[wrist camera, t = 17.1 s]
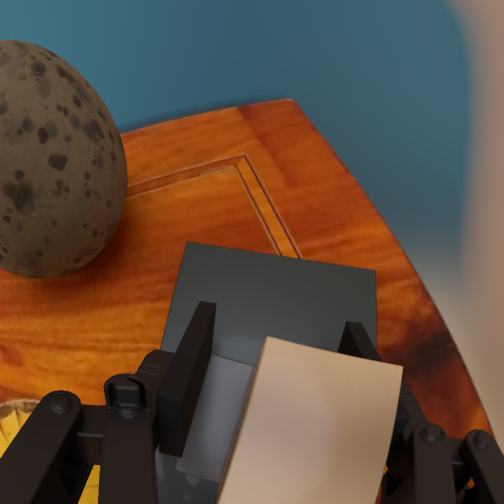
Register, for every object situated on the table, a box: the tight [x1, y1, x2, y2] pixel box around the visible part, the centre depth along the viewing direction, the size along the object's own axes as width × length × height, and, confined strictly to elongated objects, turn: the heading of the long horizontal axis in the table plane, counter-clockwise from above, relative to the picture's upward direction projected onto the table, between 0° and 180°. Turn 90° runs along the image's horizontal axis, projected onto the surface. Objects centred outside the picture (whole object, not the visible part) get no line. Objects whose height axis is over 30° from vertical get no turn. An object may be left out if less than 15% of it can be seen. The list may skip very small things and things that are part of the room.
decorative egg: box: [0, 40, 127, 279], centre depth 14 cm, size 11×11×15 cm
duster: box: [175, 336, 403, 504], centre depth 11 cm, size 6×8×9 cm
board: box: [155, 242, 377, 504], centre depth 14 cm, size 24×12×1 cm, turn 172°
